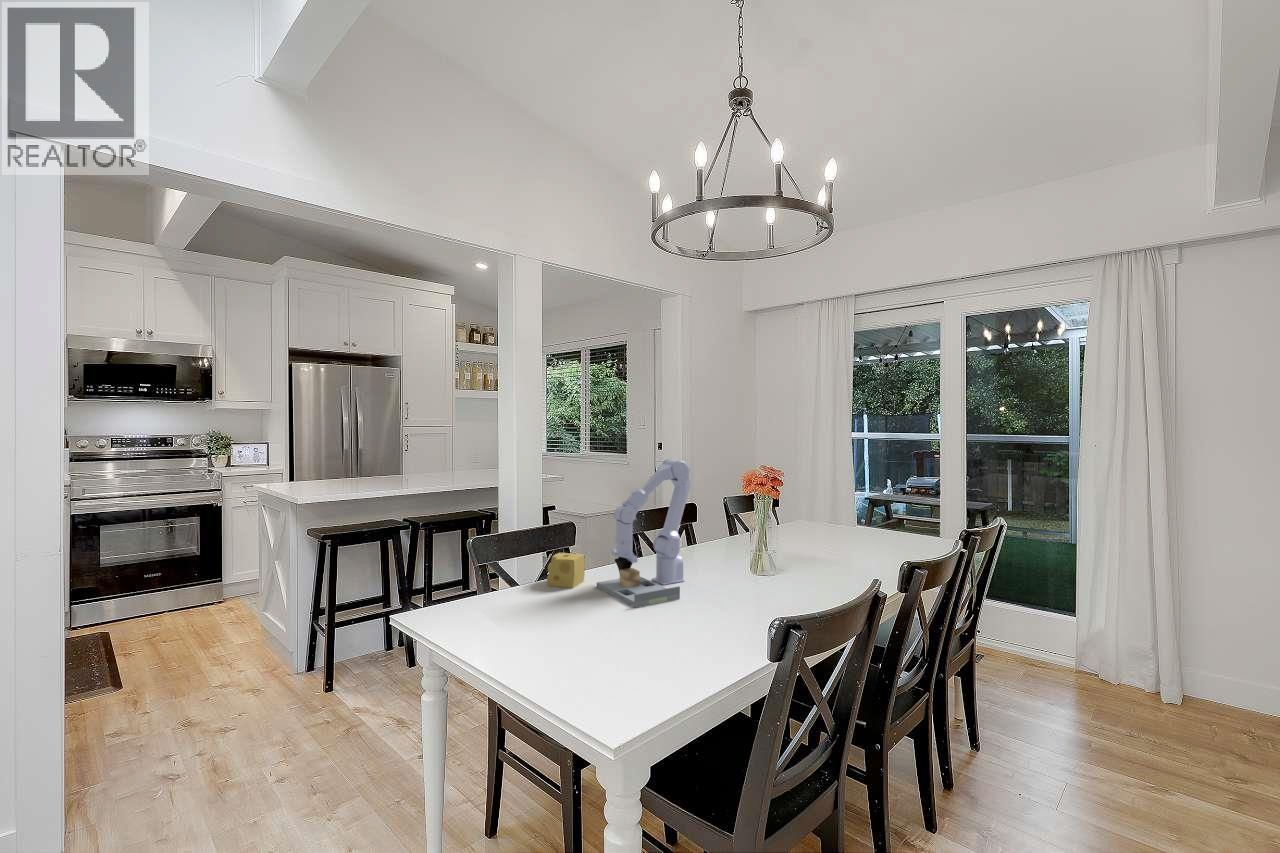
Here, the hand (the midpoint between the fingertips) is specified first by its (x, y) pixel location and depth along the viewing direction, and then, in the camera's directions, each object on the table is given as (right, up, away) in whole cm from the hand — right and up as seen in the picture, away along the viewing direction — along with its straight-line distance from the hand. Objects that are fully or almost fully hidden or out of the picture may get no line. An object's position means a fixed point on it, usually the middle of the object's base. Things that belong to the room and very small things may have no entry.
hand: (624, 579), depth 206 cm
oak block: (+2, -1, -4) cm, 4 cm away
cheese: (-21, -3, +4) cm, 21 cm away
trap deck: (+4, -3, -7) cm, 9 cm away
